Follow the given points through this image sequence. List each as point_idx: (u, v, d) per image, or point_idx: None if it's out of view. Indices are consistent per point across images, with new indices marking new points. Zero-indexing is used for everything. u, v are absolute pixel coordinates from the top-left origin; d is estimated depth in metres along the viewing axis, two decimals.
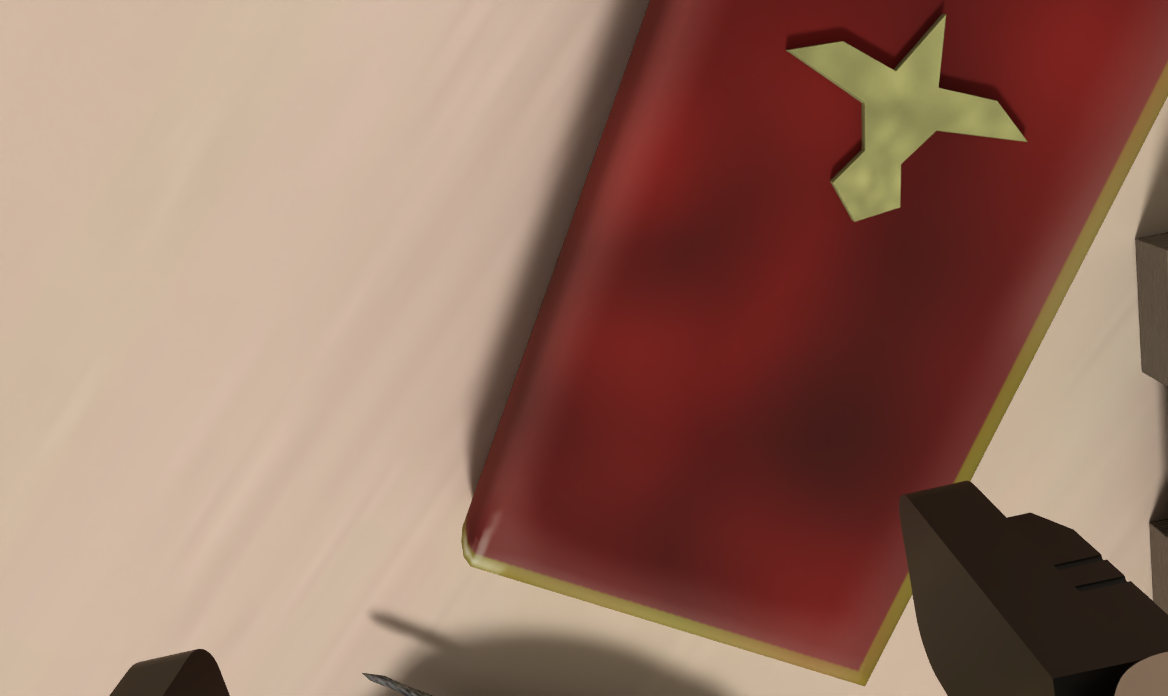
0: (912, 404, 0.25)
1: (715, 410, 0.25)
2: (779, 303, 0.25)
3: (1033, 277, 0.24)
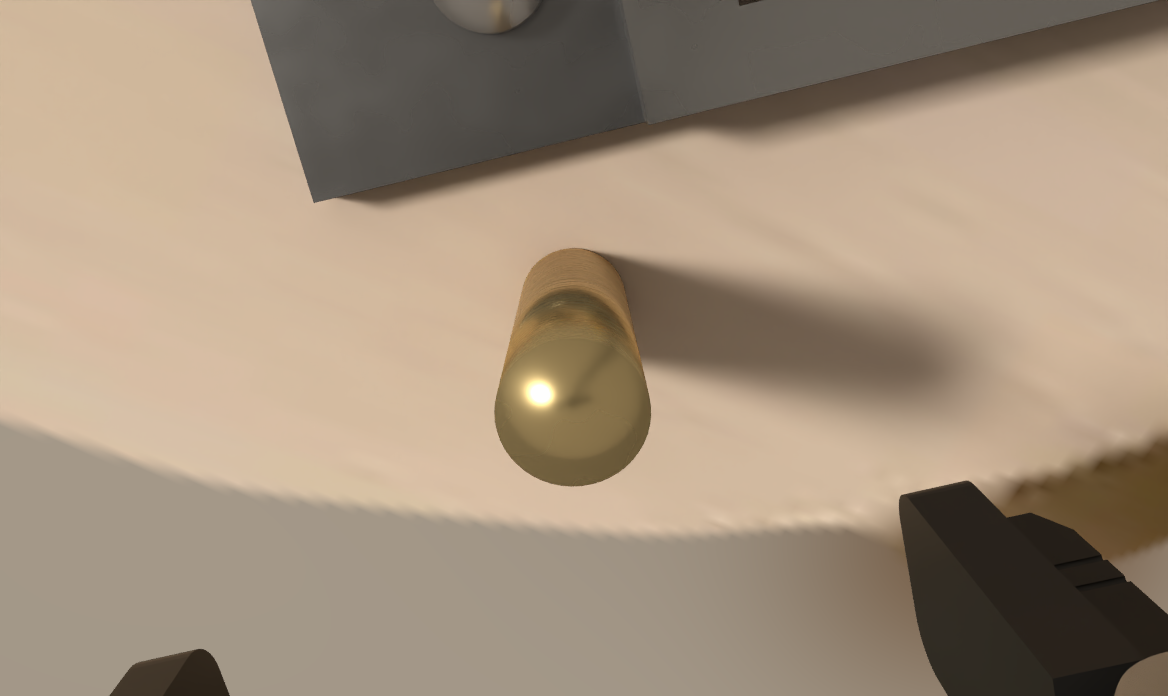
0: None
1: None
2: None
3: None
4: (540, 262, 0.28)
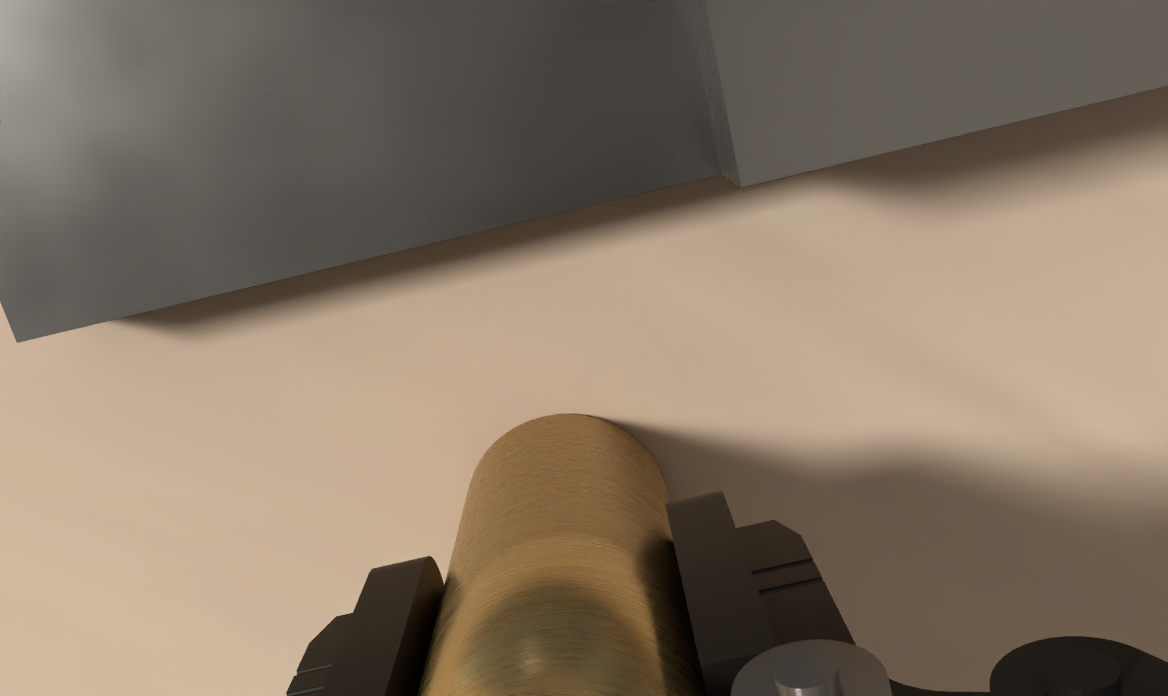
0: None
1: None
2: None
3: None
4: (501, 447, 0.14)
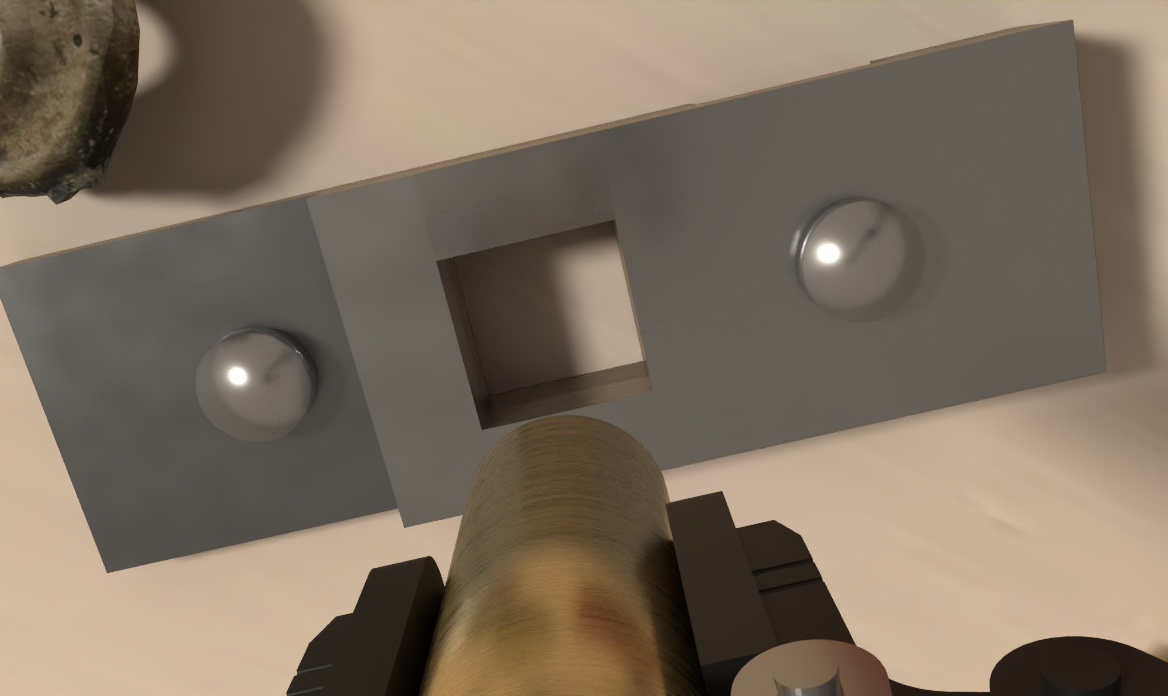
0: None
1: None
2: None
3: None
4: (502, 448, 0.14)
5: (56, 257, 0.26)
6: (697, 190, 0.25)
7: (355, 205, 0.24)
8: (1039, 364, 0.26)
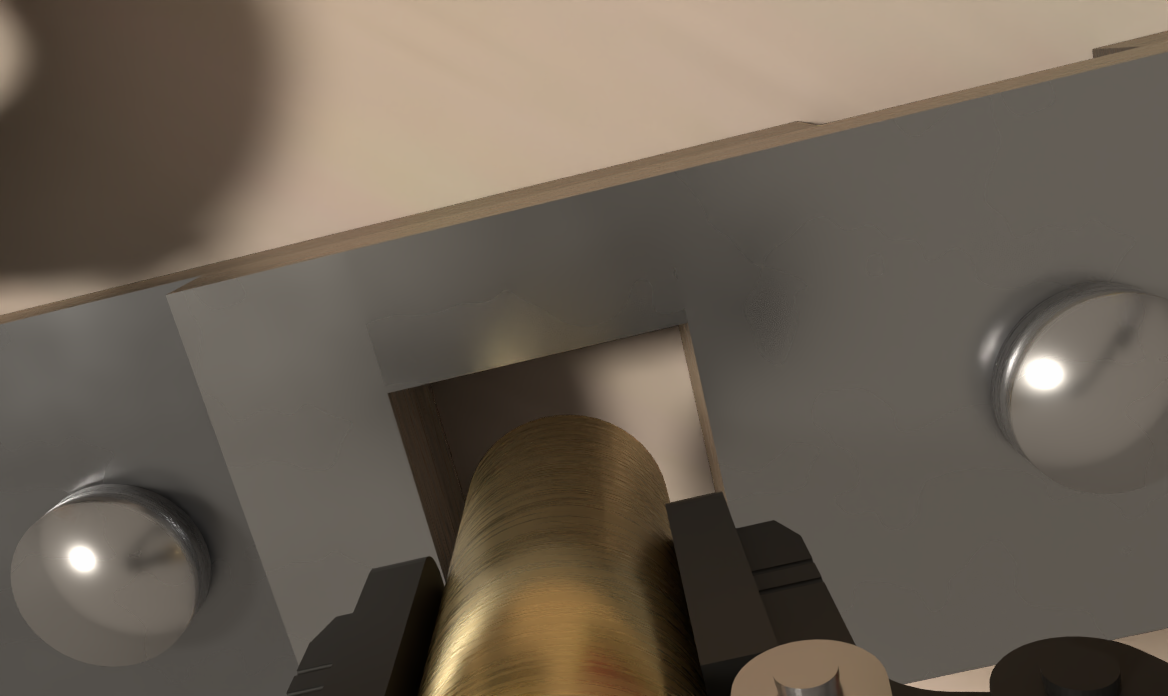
0: None
1: None
2: None
3: None
4: (501, 447, 0.14)
5: None
6: (827, 273, 0.14)
7: (249, 304, 0.15)
8: None
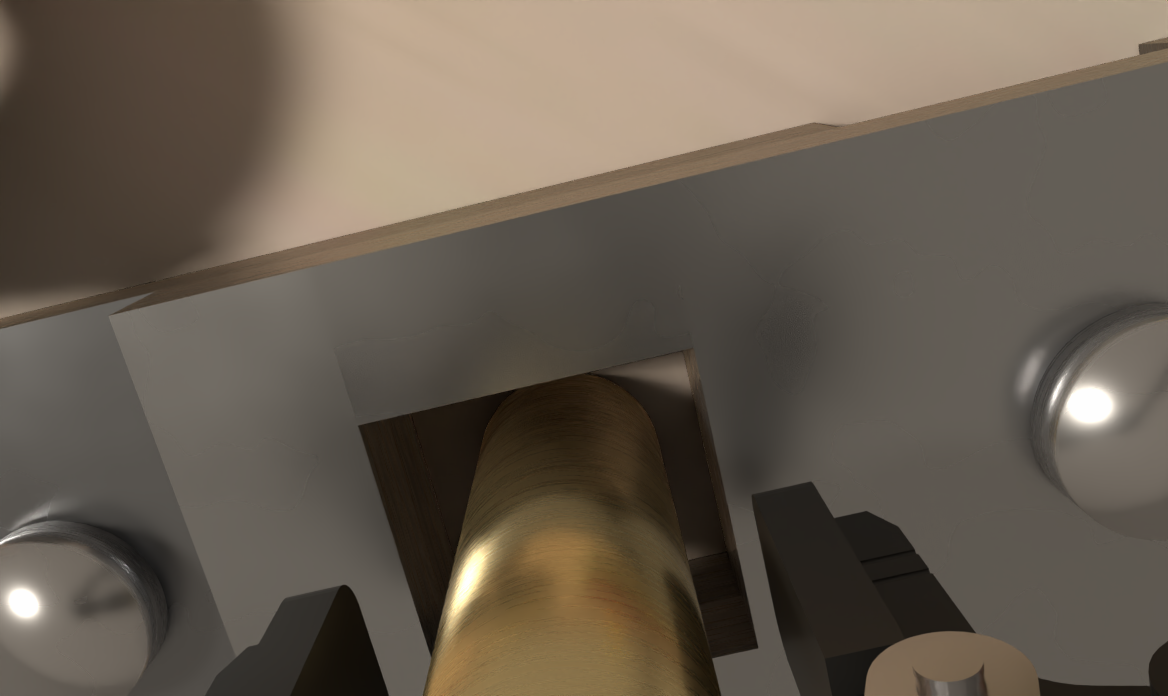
0: None
1: None
2: None
3: None
4: (512, 400, 0.16)
5: None
6: (850, 293, 0.13)
7: (202, 327, 0.13)
8: None
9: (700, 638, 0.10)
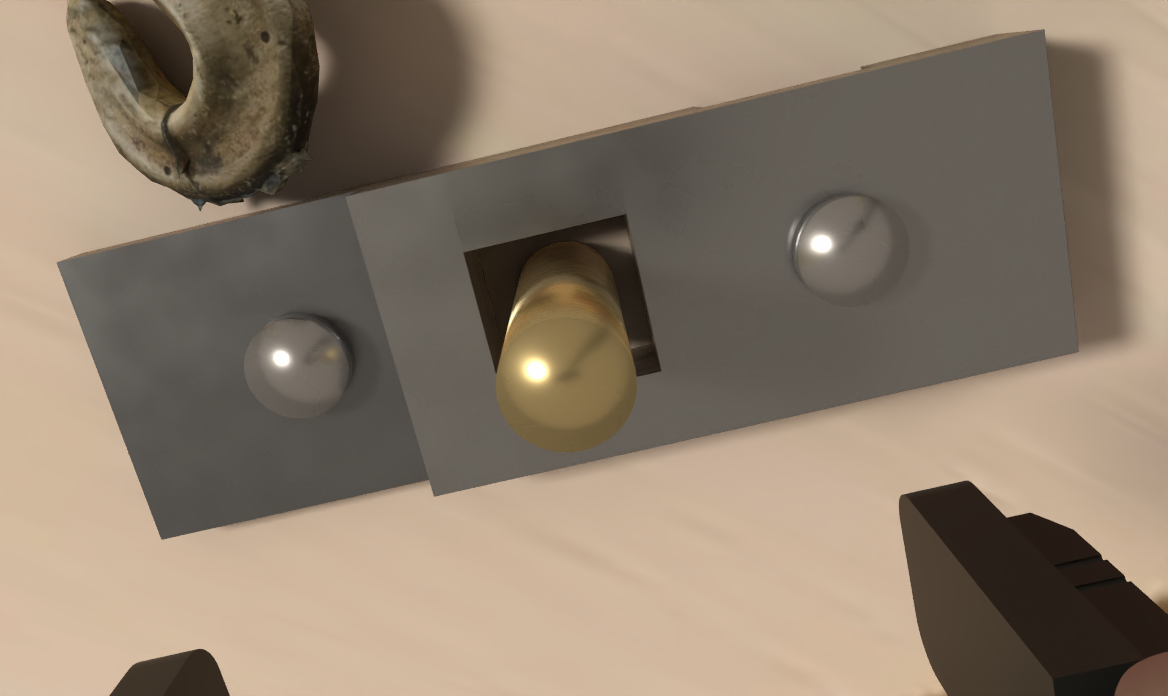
0: None
1: None
2: None
3: None
4: (536, 254, 0.30)
5: (117, 250, 0.29)
6: (701, 187, 0.27)
7: (390, 202, 0.27)
8: (1016, 345, 0.28)
9: (619, 316, 0.24)
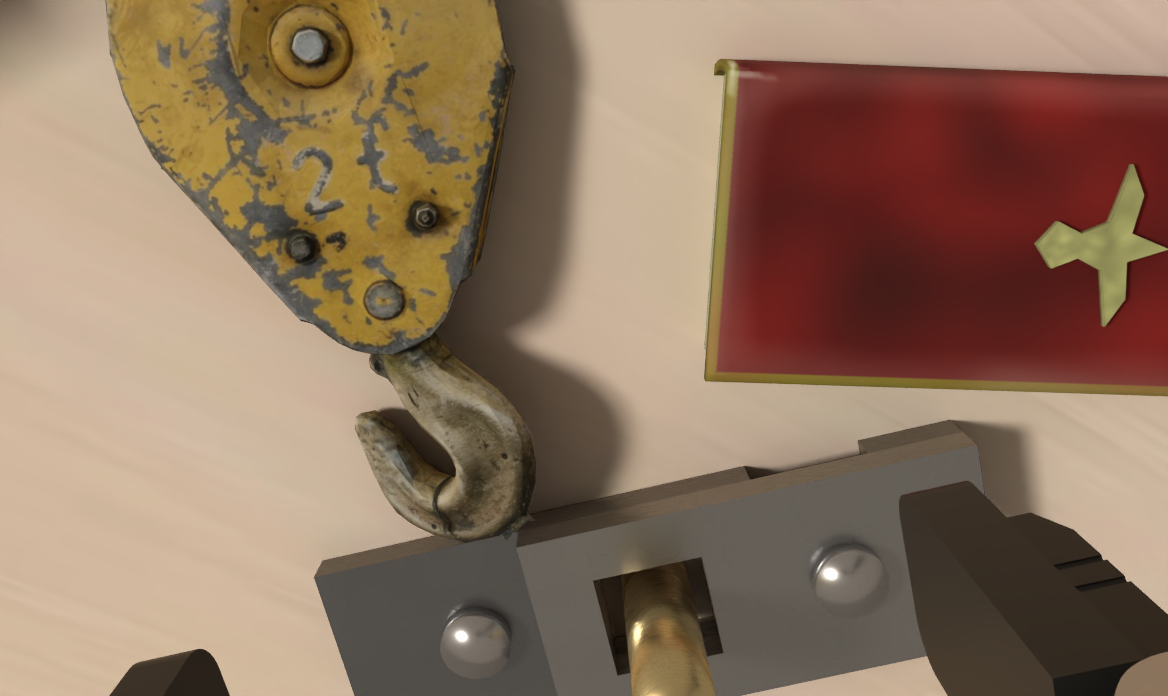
0: (921, 328, 0.38)
1: (888, 204, 0.37)
2: (970, 219, 0.37)
3: (1019, 367, 0.38)
4: None
5: (355, 569, 0.42)
6: (751, 540, 0.41)
7: (545, 551, 0.41)
8: None
9: (703, 650, 0.38)
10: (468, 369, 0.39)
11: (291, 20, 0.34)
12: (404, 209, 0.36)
